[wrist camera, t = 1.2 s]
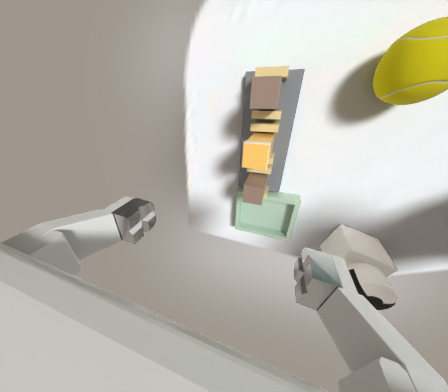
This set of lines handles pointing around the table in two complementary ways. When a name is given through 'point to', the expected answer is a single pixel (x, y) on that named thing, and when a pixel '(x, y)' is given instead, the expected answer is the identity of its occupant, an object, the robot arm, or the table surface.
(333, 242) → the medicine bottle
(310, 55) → the table surface
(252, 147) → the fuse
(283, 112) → the holder
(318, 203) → the table surface
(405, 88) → the tennis ball
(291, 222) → the tray
